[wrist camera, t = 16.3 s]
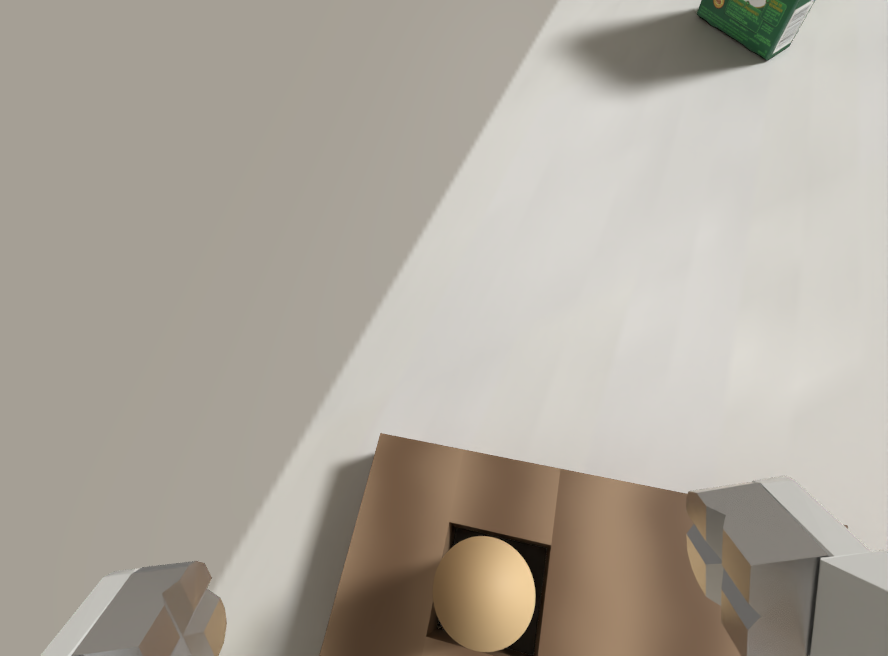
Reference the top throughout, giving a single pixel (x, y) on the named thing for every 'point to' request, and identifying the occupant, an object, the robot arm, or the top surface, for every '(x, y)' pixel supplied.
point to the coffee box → (757, 21)
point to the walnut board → (532, 522)
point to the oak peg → (484, 594)
